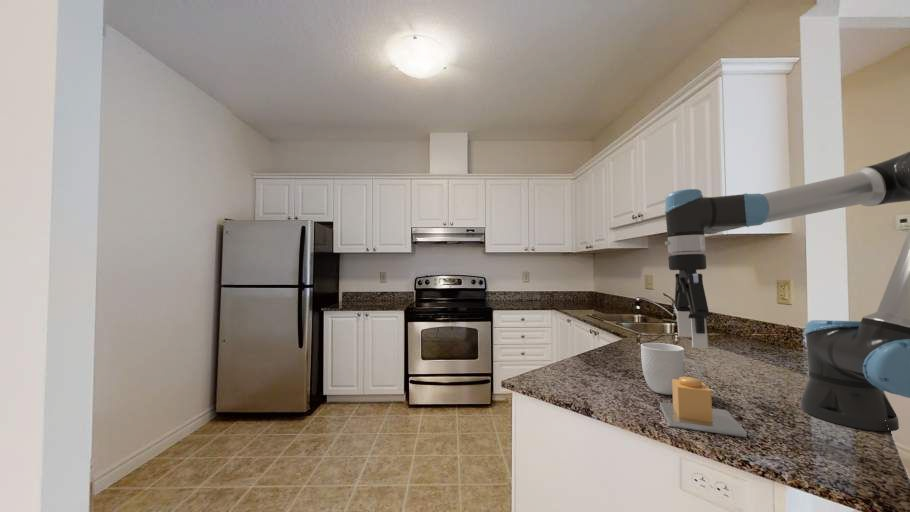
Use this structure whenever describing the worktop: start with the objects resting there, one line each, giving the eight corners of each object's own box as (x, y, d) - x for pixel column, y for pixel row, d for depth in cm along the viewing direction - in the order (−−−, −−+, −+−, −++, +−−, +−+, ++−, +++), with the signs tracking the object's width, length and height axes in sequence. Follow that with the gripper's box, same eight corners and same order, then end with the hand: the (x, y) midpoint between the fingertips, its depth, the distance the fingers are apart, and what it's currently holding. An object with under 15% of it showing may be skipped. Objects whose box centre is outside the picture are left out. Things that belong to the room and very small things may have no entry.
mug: (706, 394, 95) (704, 348, 96) (698, 405, 87) (696, 355, 88) (648, 382, 106) (647, 340, 106) (637, 391, 98) (635, 346, 99)
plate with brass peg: (726, 414, 81) (724, 387, 82) (746, 437, 70) (745, 405, 71) (660, 406, 87) (659, 380, 87) (669, 426, 76) (668, 396, 76)
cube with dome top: (703, 411, 81) (702, 377, 81) (712, 422, 75) (710, 385, 75) (673, 407, 83) (671, 374, 84) (679, 417, 77) (677, 381, 78)
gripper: (659, 256, 94) (663, 332, 93) (680, 251, 71) (686, 352, 70) (691, 255, 91) (696, 333, 90) (723, 250, 68) (730, 355, 67)
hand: (691, 341), depth 80 cm, fingers open, 13 cm apart
